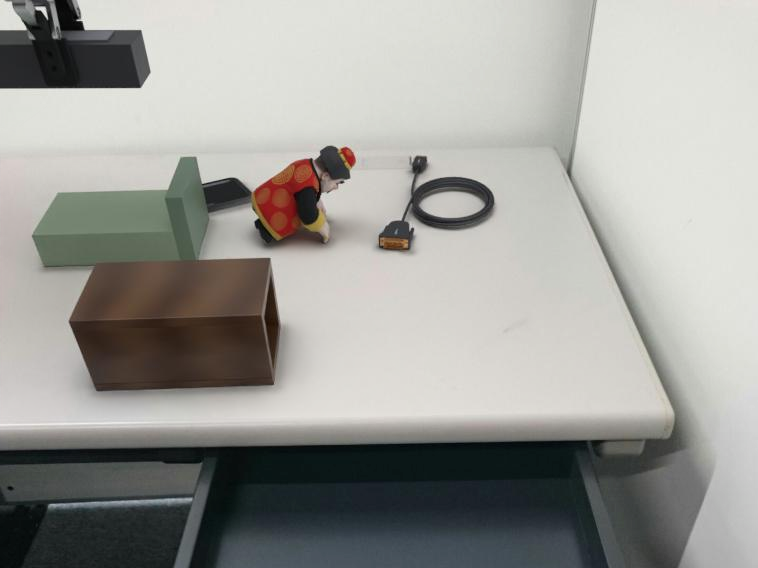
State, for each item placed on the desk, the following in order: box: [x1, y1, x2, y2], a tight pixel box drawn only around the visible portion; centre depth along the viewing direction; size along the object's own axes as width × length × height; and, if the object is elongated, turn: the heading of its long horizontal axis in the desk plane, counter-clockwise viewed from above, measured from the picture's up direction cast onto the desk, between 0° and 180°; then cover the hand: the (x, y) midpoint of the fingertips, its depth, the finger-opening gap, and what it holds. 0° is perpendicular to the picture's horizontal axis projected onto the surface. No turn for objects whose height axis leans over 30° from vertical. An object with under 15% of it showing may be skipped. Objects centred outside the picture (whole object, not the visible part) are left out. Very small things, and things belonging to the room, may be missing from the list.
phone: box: [202, 176, 253, 214], centre depth 102 cm, size 8×1×15 cm
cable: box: [378, 154, 496, 250], centre depth 100 cm, size 14×28×2 cm, turn 169°
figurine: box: [251, 145, 357, 245], centre depth 93 cm, size 10×10×15 cm
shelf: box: [68, 257, 282, 392], centre depth 74 cm, size 18×11×8 cm, turn 93°
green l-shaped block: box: [31, 156, 210, 267], centre depth 92 cm, size 19×12×8 cm, turn 93°
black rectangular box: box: [0, 29, 152, 90], centre depth 73 cm, size 15×5×4 cm, turn 92°
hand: (70, 73), depth 74 cm, fingers closed on black rectangular box, 5 cm apart
